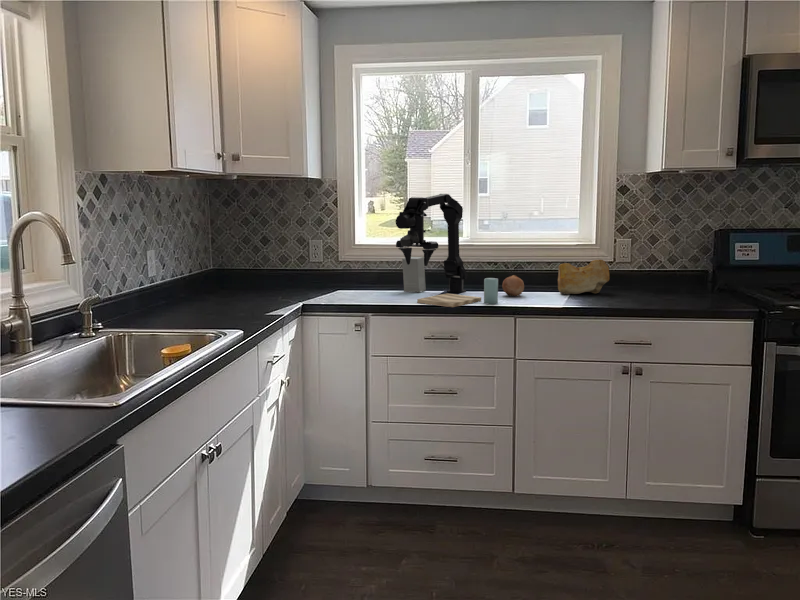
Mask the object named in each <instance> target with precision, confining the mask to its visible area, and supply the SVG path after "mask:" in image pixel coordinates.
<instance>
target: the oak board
mask: <svg viewBox="0 0 800 600" xmlns="http://www.w3.org/2000/svg"><path fill="white" fill-rule="evenodd" d="M478 301H479V302H482V296H481V297H480V296H473V295H464V294H458V293H449V292H447V293H442V294H436V295H431V296H425V297H420V298H417V303H418V304H423V303H425V304H426V305H431V304H432V305H434V306H439V307H440V306H441V307H448V308H456V307H461V306H464V305H465V304H466V305H469V303H470V304H474V303H478ZM473 302H474V303H473ZM466 305H465V306H466Z"/></svg>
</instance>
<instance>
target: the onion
mask: <svg viewBox="0 0 800 600" xmlns="http://www.w3.org/2000/svg"><path fill="white" fill-rule="evenodd" d="M501 287H502V290H503V292H504V294H506V295H507V296H508V297H520V296H521V295H522V293H523V292H524V290H525V284H524V280H523V279H521V278H520V277H519V276H517V275H516V274H513V275H509V276H508V277H505V279H503V281H502V286H501Z"/></svg>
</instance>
